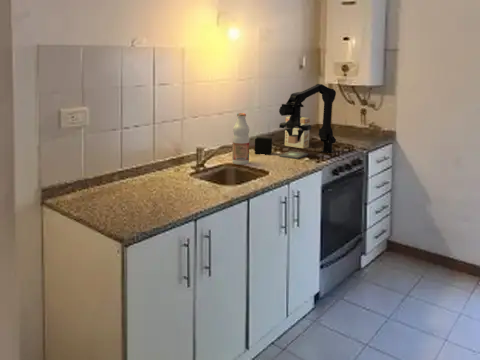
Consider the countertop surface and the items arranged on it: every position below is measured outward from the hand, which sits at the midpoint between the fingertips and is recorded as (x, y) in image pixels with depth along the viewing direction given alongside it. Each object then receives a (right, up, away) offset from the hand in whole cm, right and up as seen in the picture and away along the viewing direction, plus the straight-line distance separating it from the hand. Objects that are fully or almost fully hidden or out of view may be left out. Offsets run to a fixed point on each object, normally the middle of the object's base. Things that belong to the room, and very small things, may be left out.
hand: (294, 140), depth 320 cm
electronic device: (-19, -8, +6) cm, 21 cm away
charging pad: (0, -9, +2) cm, 9 cm away
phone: (0, -1, 0) cm, 1 cm away
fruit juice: (-33, -14, -19) cm, 41 cm away
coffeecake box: (+5, -2, +32) cm, 33 cm away
